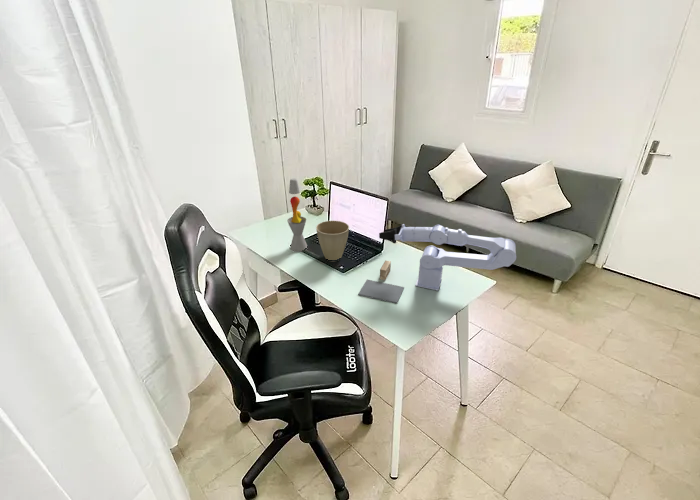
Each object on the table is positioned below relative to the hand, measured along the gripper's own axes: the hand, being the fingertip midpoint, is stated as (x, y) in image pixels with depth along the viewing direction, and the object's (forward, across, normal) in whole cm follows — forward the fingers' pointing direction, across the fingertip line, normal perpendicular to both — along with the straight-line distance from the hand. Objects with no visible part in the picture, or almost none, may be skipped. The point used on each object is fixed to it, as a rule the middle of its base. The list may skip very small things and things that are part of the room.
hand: (382, 233), depth 146 cm
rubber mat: (-1, +7, +22) cm, 24 cm away
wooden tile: (+1, -5, +19) cm, 20 cm away
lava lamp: (+48, -12, +10) cm, 50 cm away
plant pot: (+28, -10, +14) cm, 32 cm away
